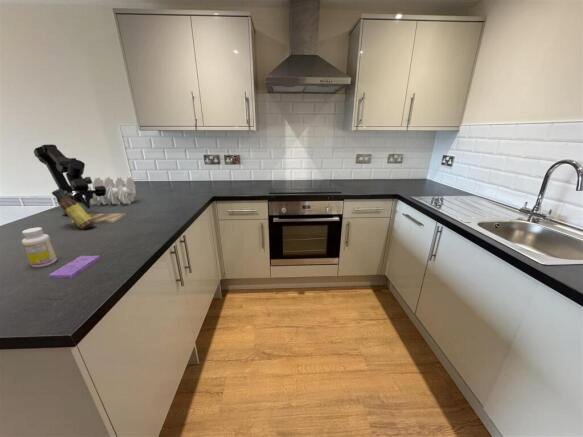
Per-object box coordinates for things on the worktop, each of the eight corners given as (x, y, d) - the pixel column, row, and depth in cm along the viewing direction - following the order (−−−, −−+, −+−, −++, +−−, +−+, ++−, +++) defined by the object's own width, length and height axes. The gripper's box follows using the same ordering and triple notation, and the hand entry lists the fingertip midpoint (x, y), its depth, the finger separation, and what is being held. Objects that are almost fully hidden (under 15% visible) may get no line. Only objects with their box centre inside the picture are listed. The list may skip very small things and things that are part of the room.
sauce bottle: (97, 220, 117) (67, 185, 111) (85, 226, 111) (53, 189, 106) (90, 225, 119) (61, 191, 114) (78, 231, 114) (46, 195, 108)
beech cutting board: (72, 223, 122) (71, 220, 122) (87, 216, 133) (87, 213, 132) (113, 222, 124) (113, 220, 124) (125, 215, 134) (125, 213, 134)
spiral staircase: (100, 208, 158) (141, 205, 162) (80, 204, 141) (126, 201, 144) (99, 181, 160) (139, 179, 163) (79, 174, 143) (125, 171, 146)
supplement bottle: (43, 258, 88) (30, 226, 84) (62, 258, 89) (51, 225, 84) (25, 268, 82) (11, 233, 77) (46, 267, 82) (33, 233, 78)
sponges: (101, 260, 89) (99, 255, 88) (71, 279, 77) (70, 274, 76) (82, 259, 89) (80, 255, 88) (49, 279, 77) (47, 274, 76)
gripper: (49, 174, 107) (61, 202, 104) (100, 169, 120) (112, 195, 118) (51, 188, 114) (63, 215, 112) (99, 182, 128) (111, 206, 125)
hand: (88, 207), depth 116 cm, fingers closed
